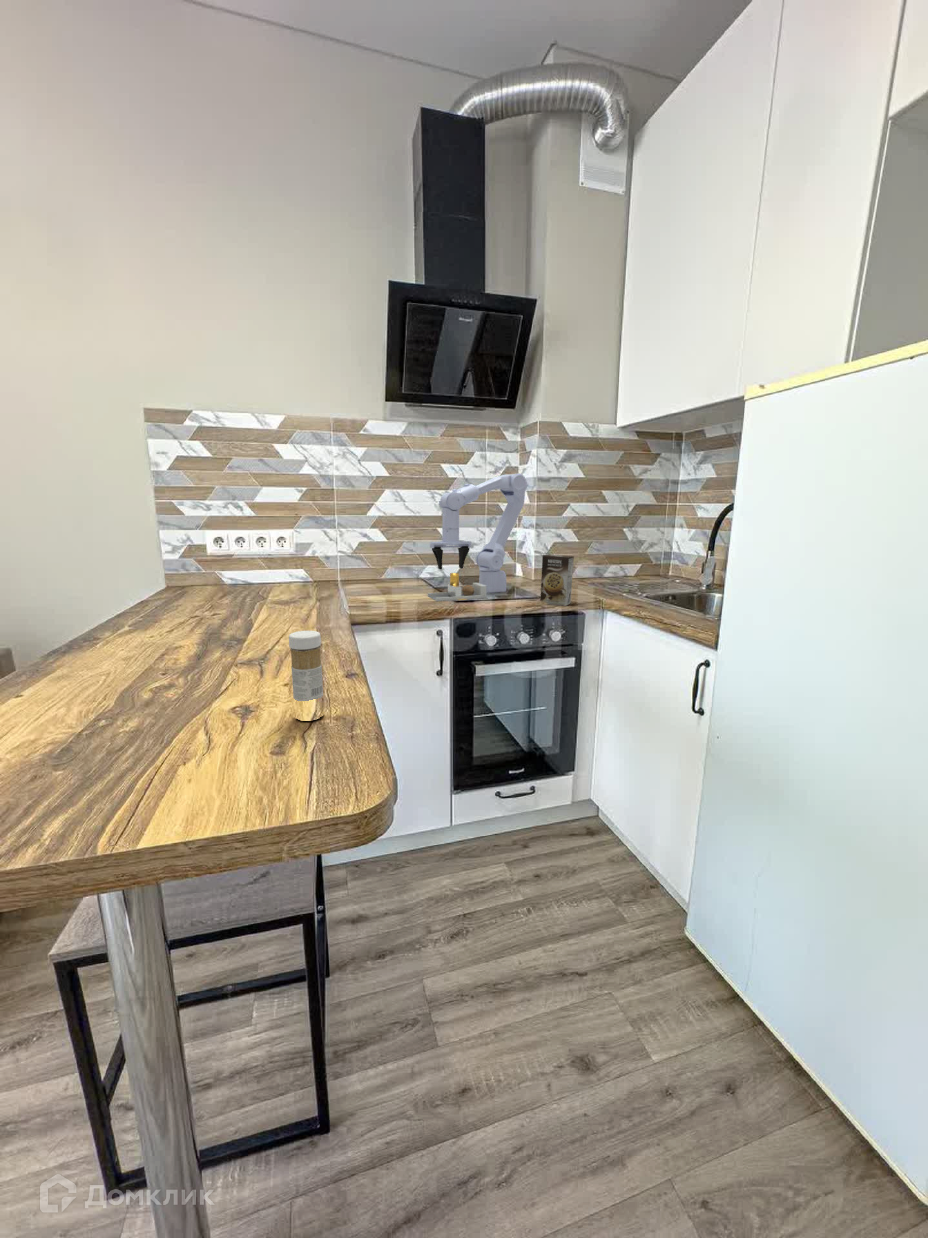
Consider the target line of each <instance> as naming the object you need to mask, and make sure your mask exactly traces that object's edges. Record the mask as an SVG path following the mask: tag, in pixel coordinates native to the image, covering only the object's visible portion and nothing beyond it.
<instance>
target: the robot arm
mask: <svg viewBox="0 0 928 1238" xmlns="http://www.w3.org/2000/svg"><path fill="white" fill-rule="evenodd" d="M528 485H529V484H528V483H527V480H526V477H525V476H524V475H523V474H522V473H521V472H518V473H511V474H510V473H509V474H507V473H506V474H505V473H503V474H502V475H498V476H495V477H492V478H490V479H487V480H486V481H484V482H481V483H478V485H474V484H472V483H466V484H464V485H463V487H459V488H454V489H452V492H445V493H443V494H442V495H441V497H440V499H439V501H438V502H439V503H438V504H439V506H440V508H441V511H442V512H441V513H442V514H441V515H442V518H441V519H442V520H441V521H442V525H441V526H442V527H441V528H442V529H441V531H442V532H441V533H442V536H441V537H442V539H441V540H442V541H430V542H429V549H431V551H432V553H433V555H434V557H435V560H436V563H437V568H438V570H443V553H444V548H448V549H449V548H457V551H458V568H459V569H461V570H462V569H464V565H465V561H466V558H467V556H468V554H469V552H470V548H472V541H470V540H469V541H468V540H467V541H466V540H464V541H463V540H462V541H461V540H460V509H461V508H462V507H463V506H465V505H468V504H470V503H472V502H476V501H477V500H478V499H479V496H480V495H483V494H485V493H488V492H491V491H494V490H499V491H500V492H501V494H502V495H503V497H504V498H505V500H506V502H507V504H506V506H505V508H504V510H503V513H502V515H501V517H500V519H499V522H498V523H497V525H496V528H494V529H495V530H494V532H493V534H492V536H491V538H490V540H489V542H488V543H486V544H485V545H484V546H483V547H482V549H481V551H479V552H478V553H477V555H476V557H475V562H476V565H477V566H478V570H479V573H478V575H479V576H478V577H479V579H478V580H479V581H478V583H480V584H483V585H485V586H486V593H499V592H500V593H503V592H507V574H506V572H505V570H502V567H503V565H504V560H505V559H504V558H505V555H506V552H505V546H506V543H507V541H508V539H509V537H510V535H511V533H512V531H513V528H514V527H515V524H516V522H517V520H518V518H519V517H520V514H521V511H522V509H523V507H524V504H525V496H526V490H527V487H528Z"/></svg>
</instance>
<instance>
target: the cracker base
mask: <svg viewBox="0 0 928 1238" xmlns="http://www.w3.org/2000/svg"><path fill="white" fill-rule="evenodd" d="M471 586H472V587H473V588H474V593H473V595H472V596H465V595H464V594H463V592H462V590H461V596H458V597H452V596H450V595H448V591H444V592H443V591H442V592H427V594H426V596H427V597H428V598H429V599H432V600H433V601H435V602H452V601H470V600H485V599H486V600H488V598H487V592H486V586H485V585H483V584H480V583H479V582H472V583H471Z"/></svg>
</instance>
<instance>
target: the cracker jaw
mask: <svg viewBox="0 0 928 1238" xmlns="http://www.w3.org/2000/svg"><path fill="white" fill-rule="evenodd" d="M449 573H450V574H449V583H448V584H447V592H448V595H450V596H452V597H458V596H461V591H462V586H460V573H459V572H449Z"/></svg>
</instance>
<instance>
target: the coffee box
mask: <svg viewBox="0 0 928 1238" xmlns="http://www.w3.org/2000/svg"><path fill="white" fill-rule="evenodd" d="M574 559H575V556H574V555H563V554H543V555H542V559H541V560H542V562H541V582H540V600H539V601H541V602H543V603H545V604H548V605H554V606H562V607H563V606H564V607H567V606H568V605H570V604H571V603H572V602H571V601H572V590H573V589H572V587H573V573H574V572H573V571H574Z"/></svg>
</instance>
